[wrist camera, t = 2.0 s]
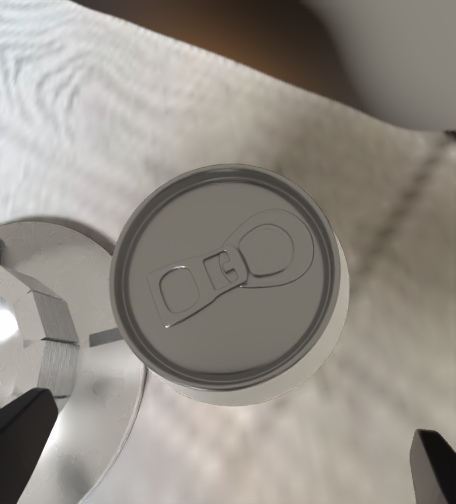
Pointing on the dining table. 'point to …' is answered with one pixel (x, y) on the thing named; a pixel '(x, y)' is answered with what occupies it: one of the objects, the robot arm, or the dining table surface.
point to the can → (229, 285)
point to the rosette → (66, 355)
